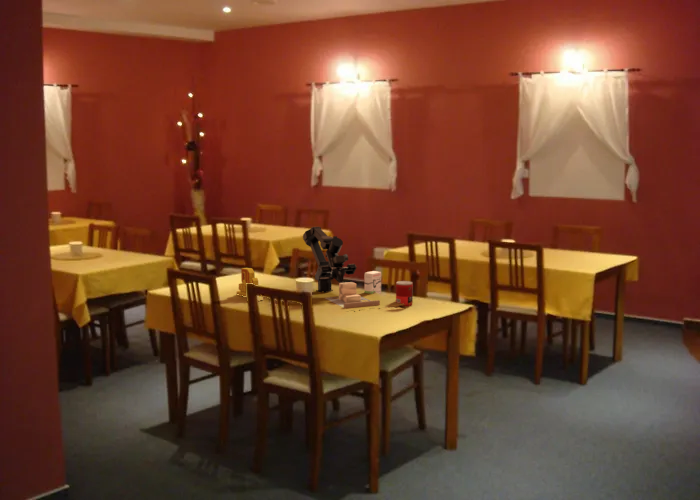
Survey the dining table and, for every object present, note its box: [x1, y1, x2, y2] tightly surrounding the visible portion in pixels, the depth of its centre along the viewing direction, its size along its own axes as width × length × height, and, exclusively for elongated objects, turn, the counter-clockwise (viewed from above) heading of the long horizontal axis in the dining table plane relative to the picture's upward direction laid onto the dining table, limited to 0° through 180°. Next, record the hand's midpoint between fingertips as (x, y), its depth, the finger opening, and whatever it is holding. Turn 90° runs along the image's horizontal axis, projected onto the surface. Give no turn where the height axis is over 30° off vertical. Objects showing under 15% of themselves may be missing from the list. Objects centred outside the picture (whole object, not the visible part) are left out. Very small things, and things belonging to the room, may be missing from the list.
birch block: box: [338, 281, 362, 303], centre depth 365 cm, size 10×7×8 cm
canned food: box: [395, 280, 414, 307], centre depth 361 cm, size 8×8×11 cm
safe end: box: [338, 299, 381, 312], centre depth 355 cm, size 7×18×4 cm, turn 114°
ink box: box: [363, 270, 382, 295], centre depth 385 cm, size 9×5×12 cm, turn 143°
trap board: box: [324, 296, 371, 306], centre depth 367 cm, size 18×18×2 cm
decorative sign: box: [236, 267, 260, 297], centre depth 379 cm, size 20×3×15 cm, turn 41°
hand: (342, 283), depth 373 cm, fingers closed
